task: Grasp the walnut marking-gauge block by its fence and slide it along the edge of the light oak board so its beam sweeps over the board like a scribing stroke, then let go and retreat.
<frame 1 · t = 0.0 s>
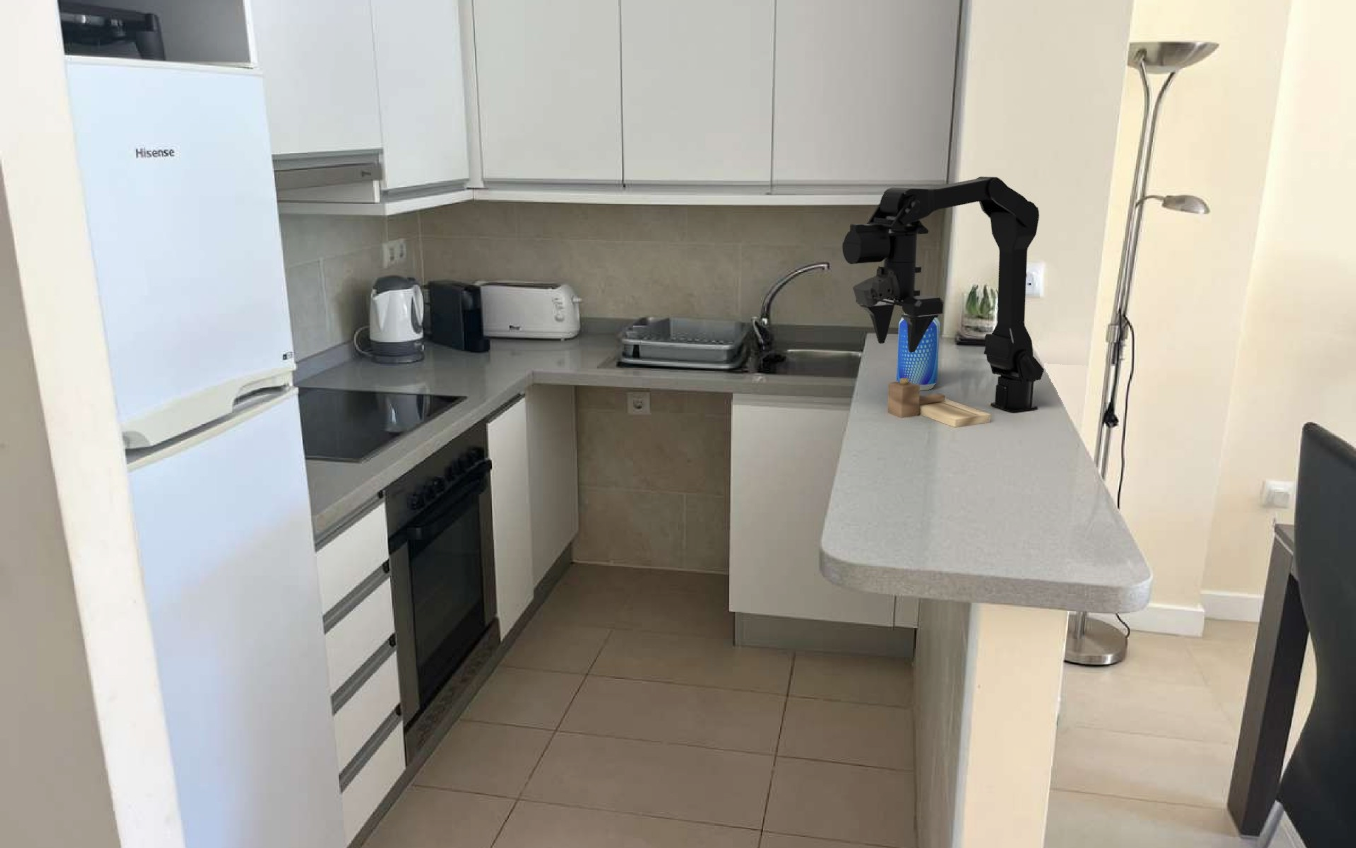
hand: (896, 347, 180), 15 cm above the table, fingers open, 9 cm apart
board: (944, 414, 191), on the table
gauge: (902, 414, 192), on the table
beer can: (916, 387, 213), on the table
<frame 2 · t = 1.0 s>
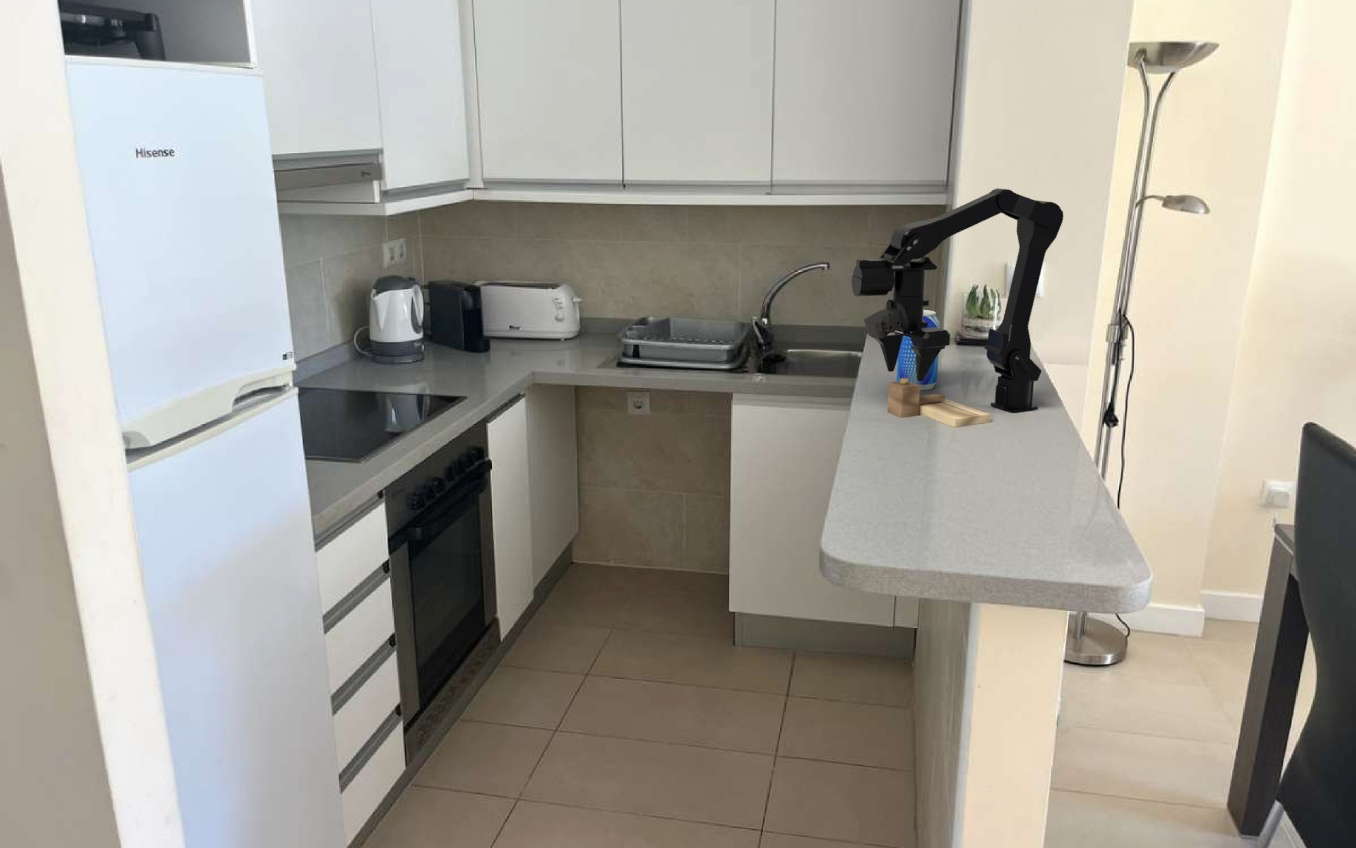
hand: (905, 376, 190), 7 cm above the table, fingers open, 9 cm apart
nothing on the table moved.
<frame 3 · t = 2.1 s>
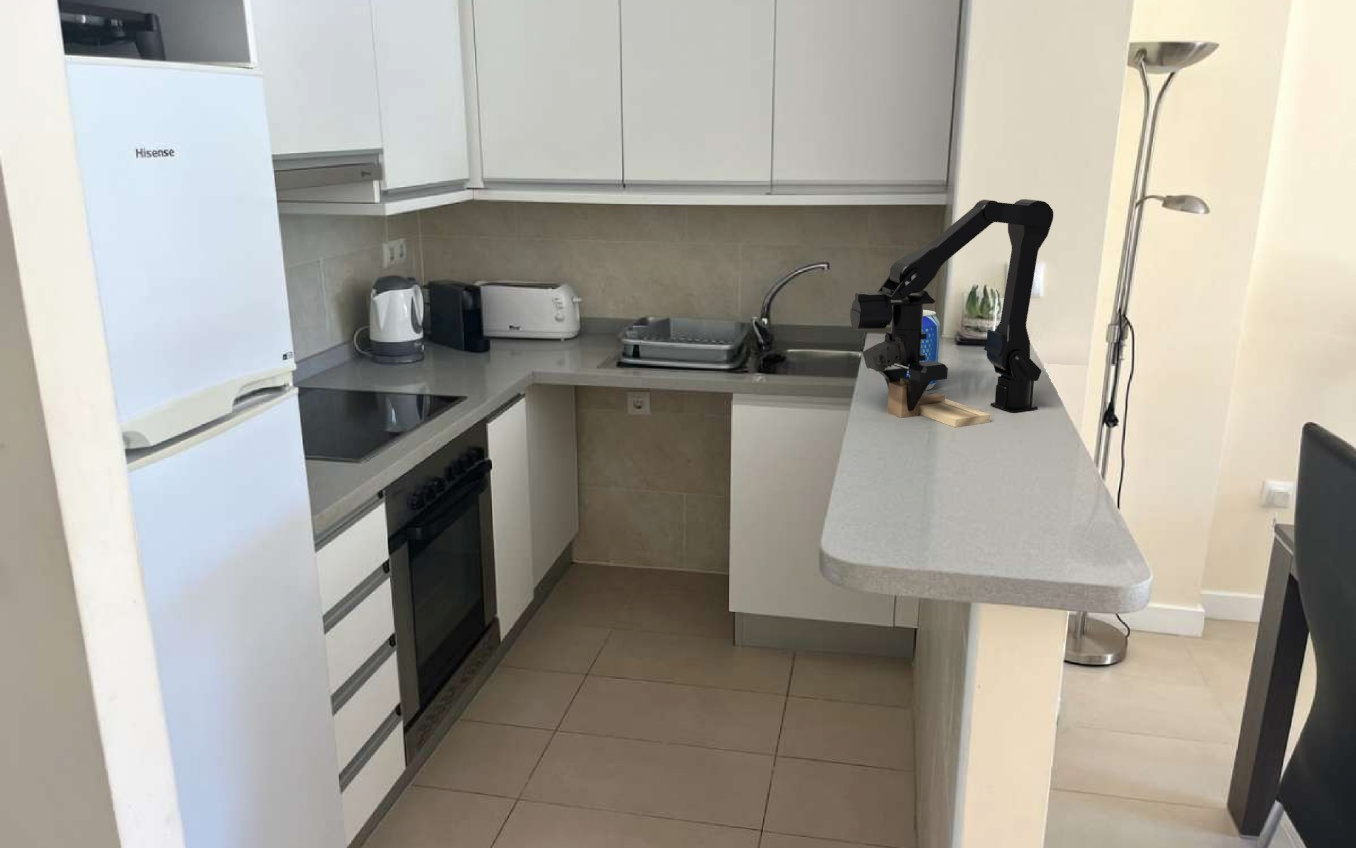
hand: (903, 407, 192), 1 cm above the table, fingers closed on gauge, 4 cm apart
gauge: (902, 414, 192), on the table, touching gripper
everything else where it was.
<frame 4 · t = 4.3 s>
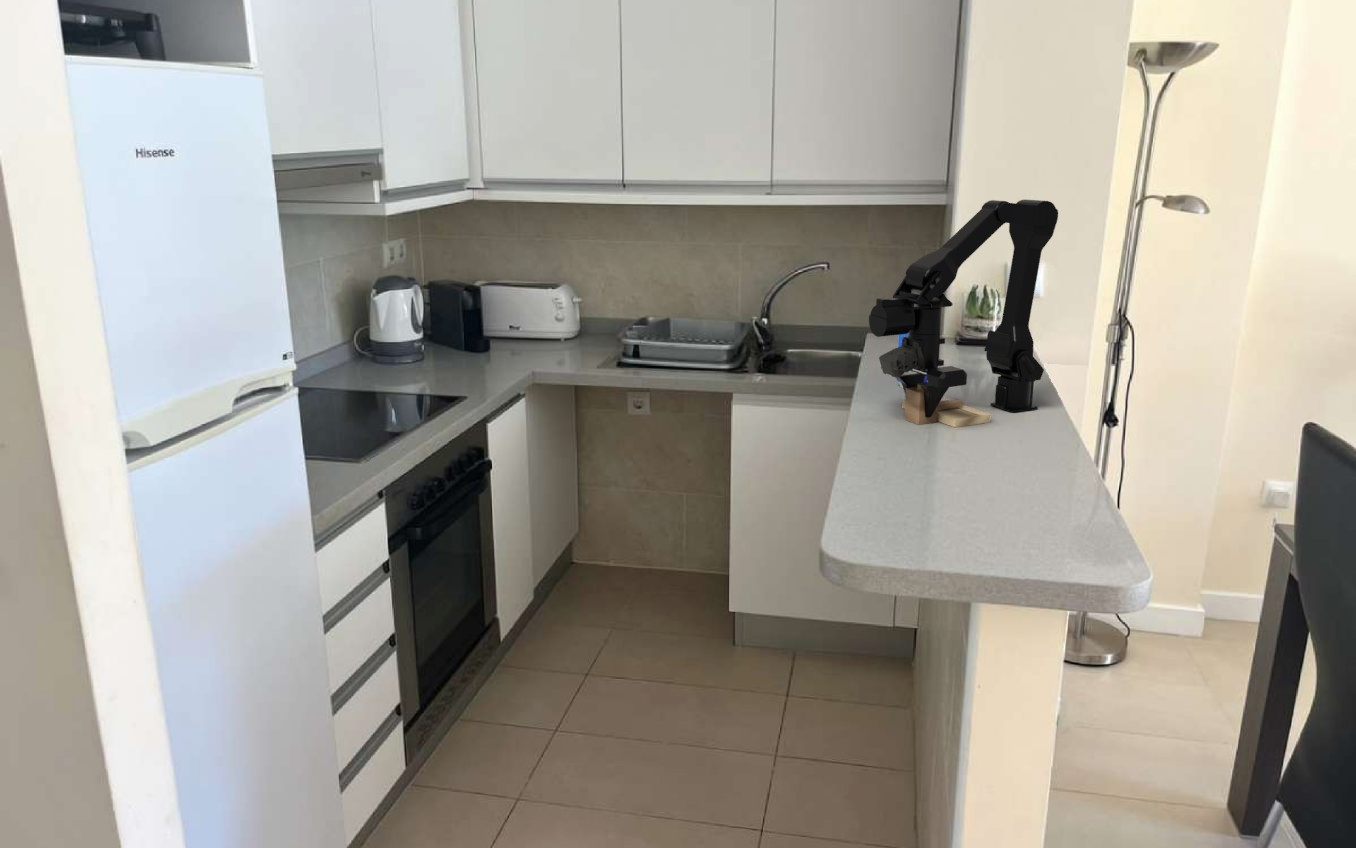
hand: (920, 414, 187), 1 cm above the table, fingers closed on gauge, 4 cm apart
gauge: (920, 420, 187), on the table, touching gripper
everything else where it was.
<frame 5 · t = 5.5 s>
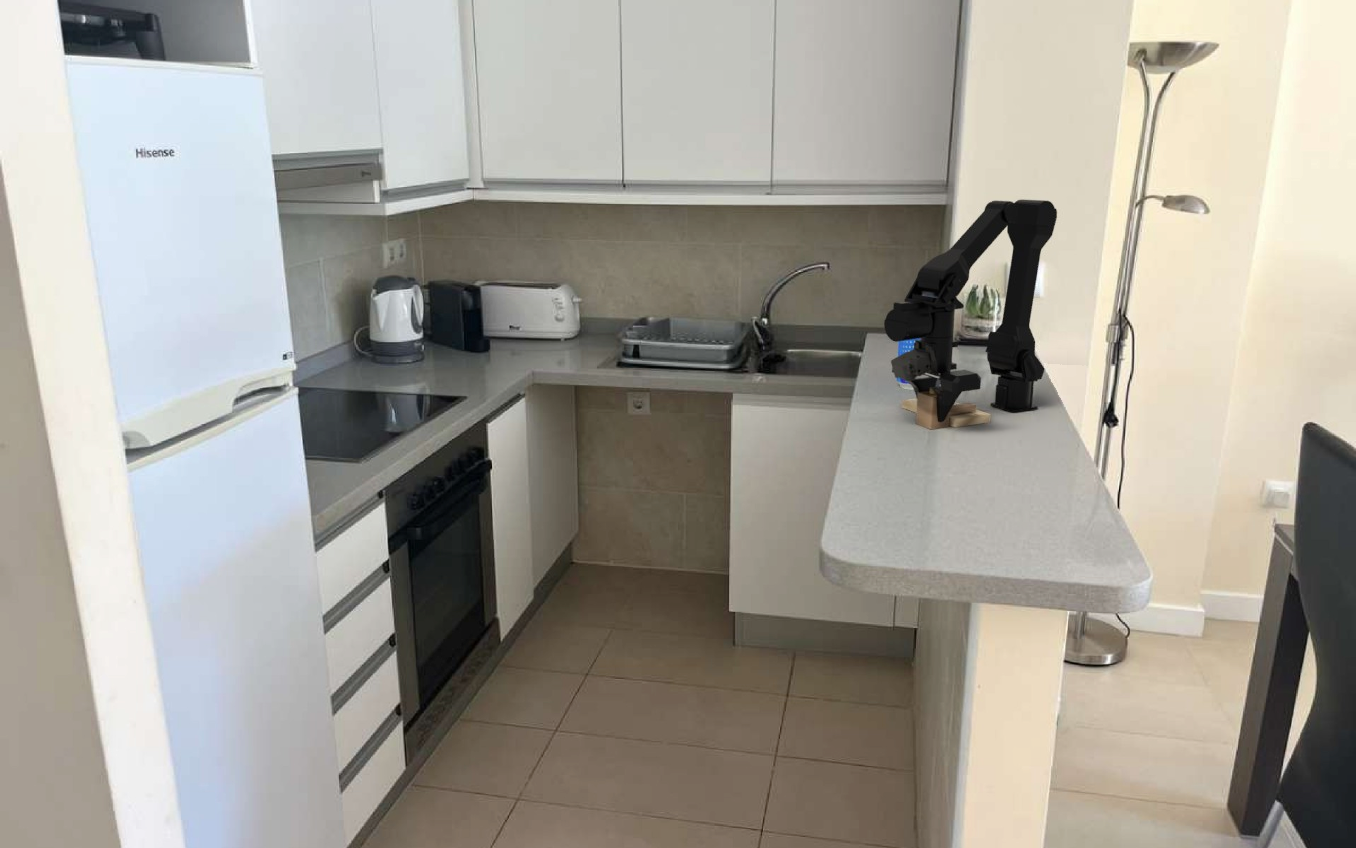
hand: (932, 418, 184), 1 cm above the table, fingers closed on gauge, 4 cm apart
gauge: (932, 425, 184), on the table, touching gripper
everything else where it was.
when the fingers open (1 cm above the table, at t = 6.3 s): gauge stays where it is, on the table.
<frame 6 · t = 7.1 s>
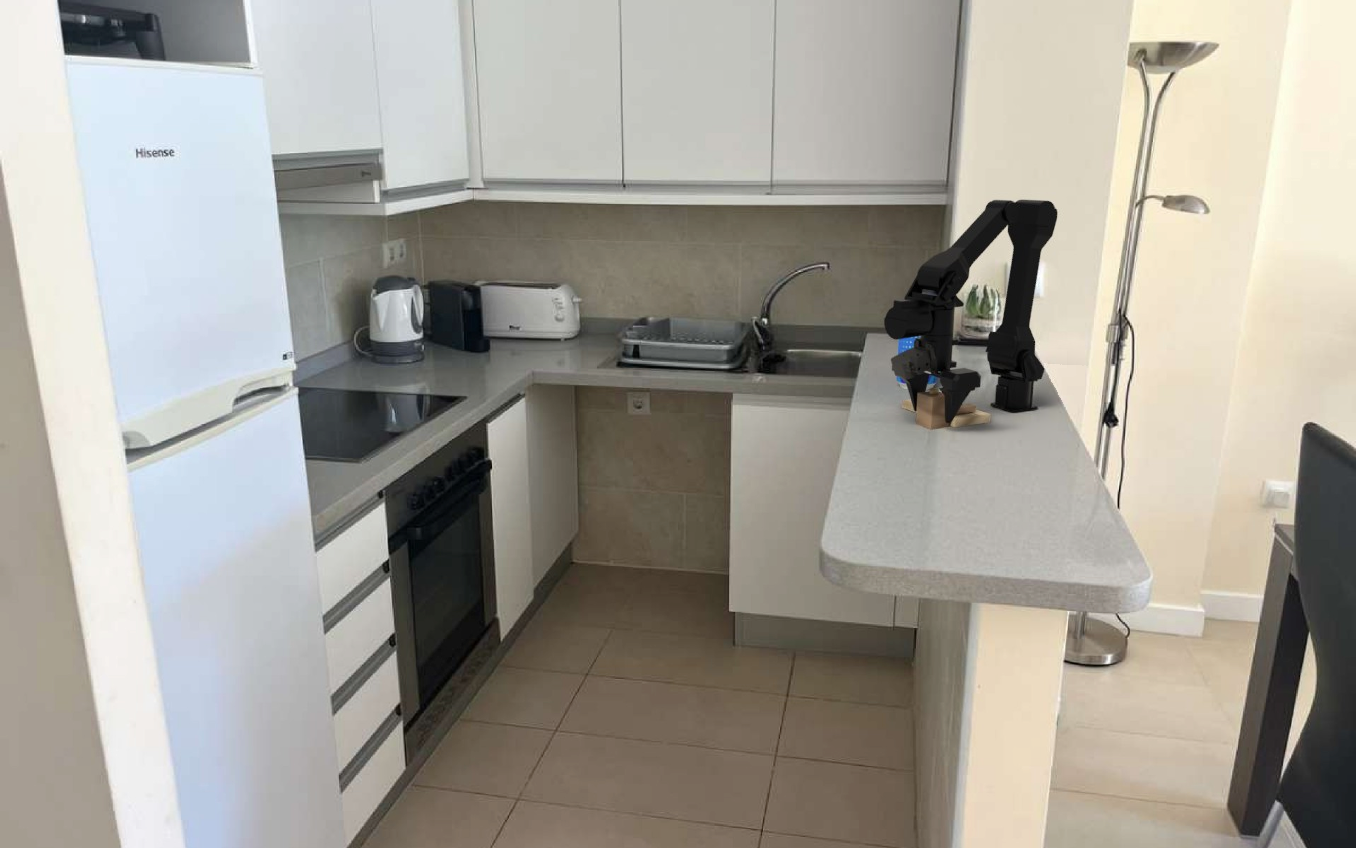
hand: (932, 416, 184), 2 cm above the table, fingers open, 9 cm apart
gauge: (932, 425, 184), on the table
everything else where it was.
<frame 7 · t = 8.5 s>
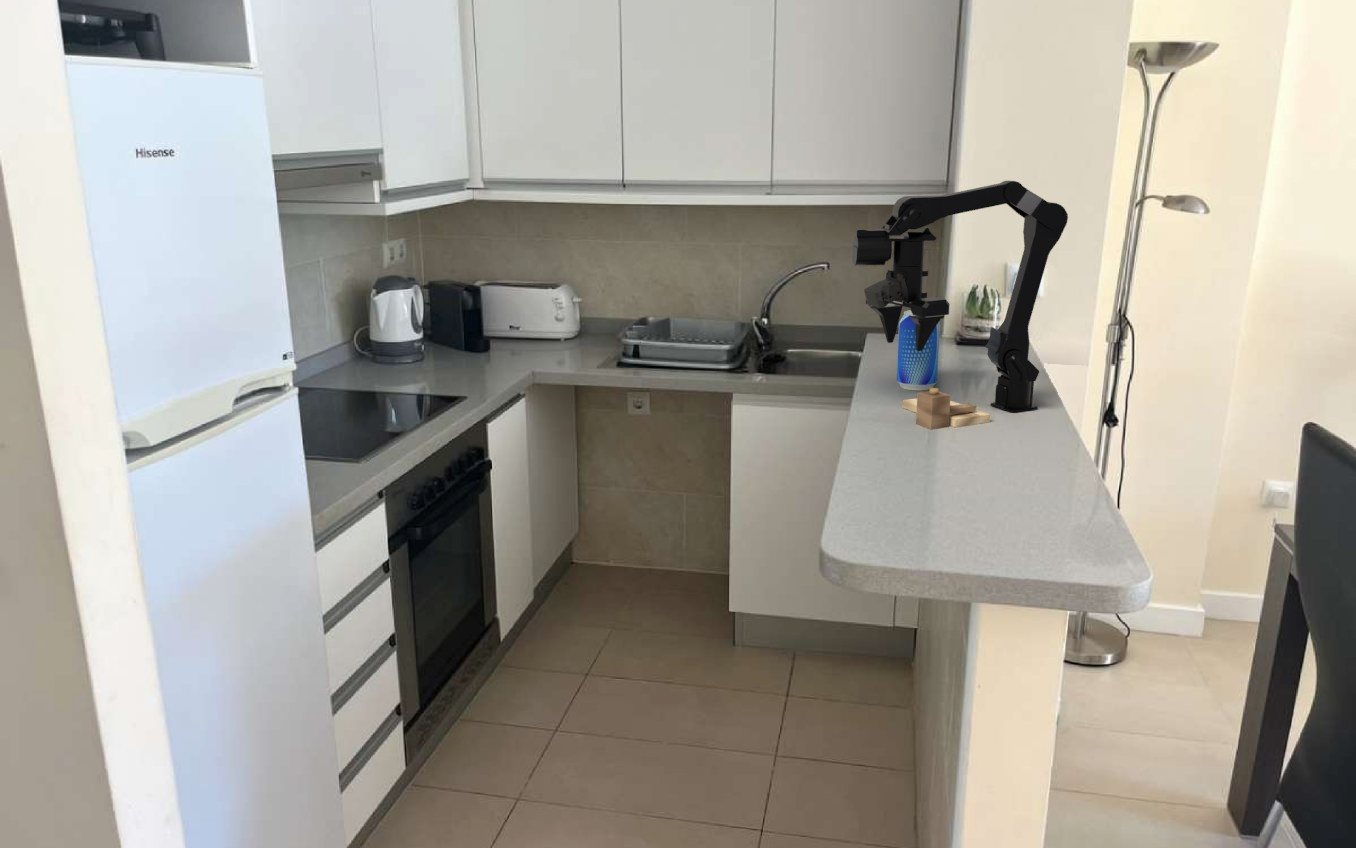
hand: (904, 346, 192), 13 cm above the table, fingers open, 9 cm apart
nothing on the table moved.
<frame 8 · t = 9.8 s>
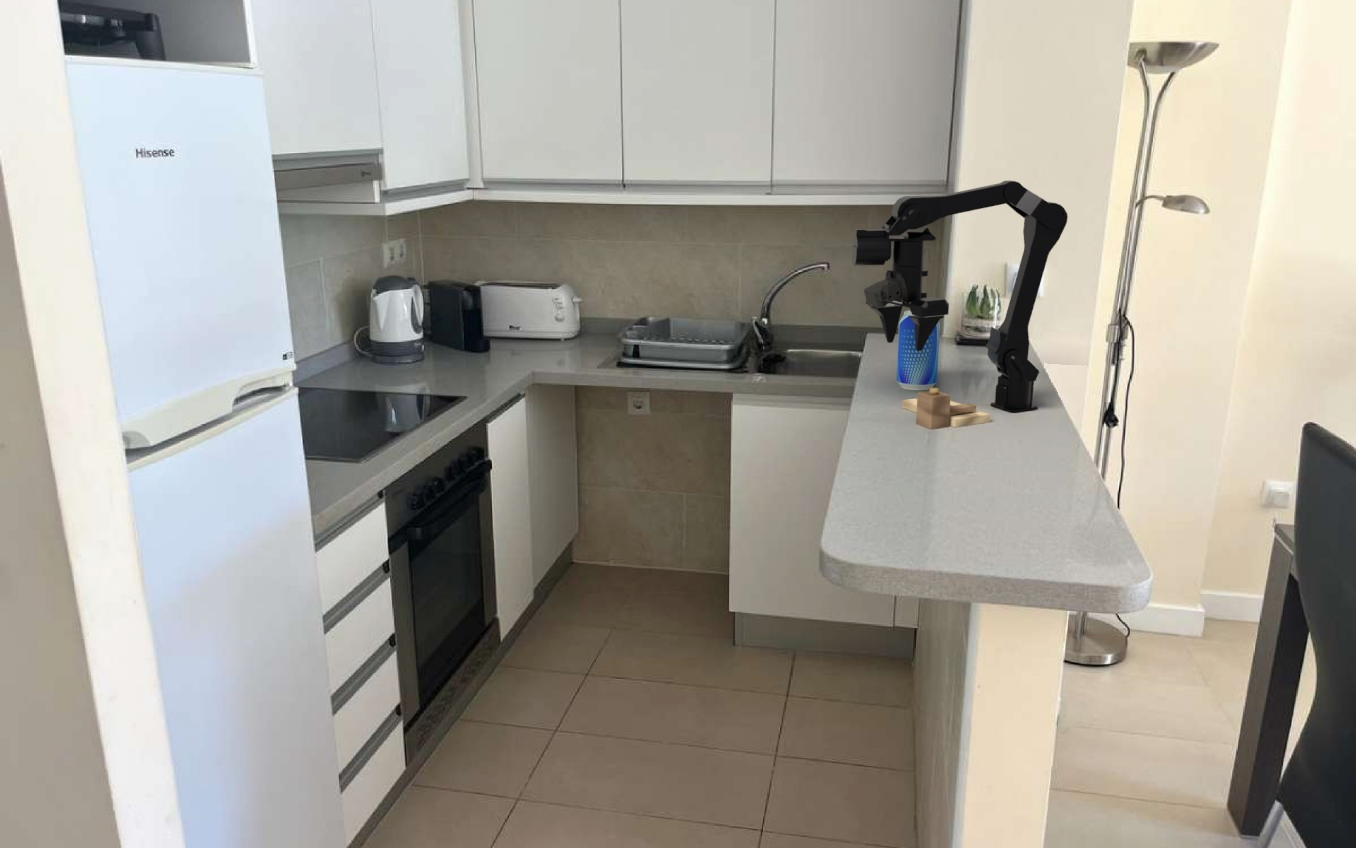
hand: (904, 346, 192), 12 cm above the table, fingers open, 9 cm apart
nothing on the table moved.
at the end: gauge 0.6 cm from the target spot, on the table; gauge tilted 0°; the gripper is holding nothing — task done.
